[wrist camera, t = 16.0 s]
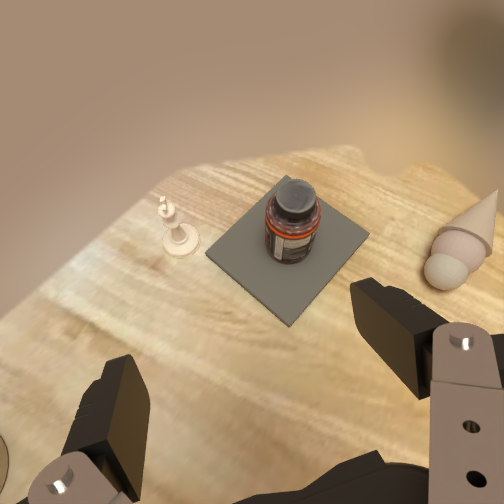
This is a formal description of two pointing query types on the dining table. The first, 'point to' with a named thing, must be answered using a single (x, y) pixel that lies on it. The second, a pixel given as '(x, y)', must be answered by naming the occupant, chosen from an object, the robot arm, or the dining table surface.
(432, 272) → the ice cream cone
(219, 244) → the mat
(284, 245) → the supplement bottle
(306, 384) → the dining table surface
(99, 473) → the robot arm
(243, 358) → the dining table surface
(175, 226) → the chess piece
